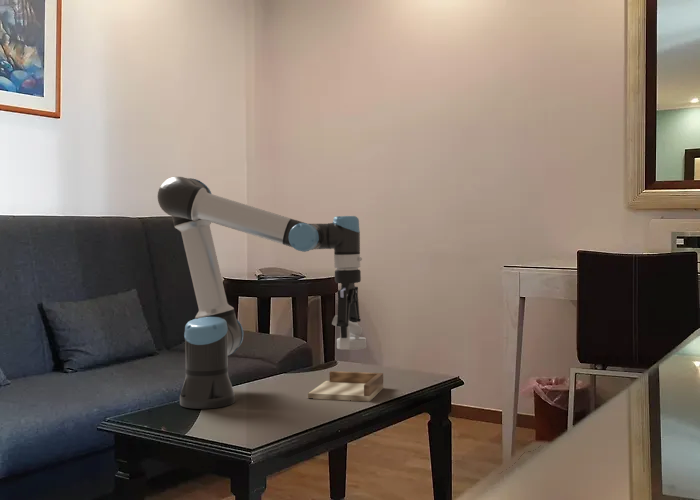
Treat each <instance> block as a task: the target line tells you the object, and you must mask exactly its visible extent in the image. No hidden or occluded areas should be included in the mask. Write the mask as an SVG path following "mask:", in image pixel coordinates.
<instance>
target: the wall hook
mask: <svg viewBox="0 0 700 500" xmlns="http://www.w3.org/2000/svg"><path fill="white" fill-rule="evenodd" d="M337 317H338V314H335V315H334V317H333V318H332V321H331V326H332V325H333V326H335V327H337ZM348 324H349V325H348V326H350V333H352V334H355V337H350V349H340V337H338V338H336V348H337V349H338V350H344V351H353V350H354V351H357V350H363V349H367V347H368V346H367V338H366V337H363V336H361V335H362V333H363V331H364V330H363V327H362V326H361V325H360V324H359V323H358V324H356V323H353V322H351V321H349V323H348ZM338 328H339V329H340V327H338Z"/></svg>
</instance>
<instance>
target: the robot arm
mask: <svg viewBox="0 0 700 500" xmlns="http://www.w3.org/2000/svg"><path fill="white" fill-rule="evenodd" d="M157 202H158V205H159V207H160V208H161V210H162V211H163V212H164V213H165V214H167V215H169V216H171V217H172V221H173V222H172V223H173V226H174V228H175V229H177V231H179V232H180V233H181V238H182V241H183V242H182V243H183V247H184V251H185V255H186V260H187V265H188V268H189V272H190V276H191V281H192V286H193V290H194V295H195V299H196V303H197V307H198V312H197V313H196V315H195V317H194V319H192V320H191V319H190V320H189V321H187V323H186V324H185V326H184V332H183V333H184V334H183V336H184V355H185V356H184V357H185V359H184V360H185V362H184V363H185V378H184V381H183V384H182V387H181V391H180V394H179V405H180V407H183V408H187V409H198V410H201V409H202V410H203V409H204V410H205V409H217V408H223V407H227V406H229V405H230V406H231V405H233V404H234V403H235V401H236V400H235V399H236V397H235V391H234V387H233V384H232V382H231V379H230V376H229V367H228V366H229V365H228V362H229V359H228V358H229V357H230V356H232V355H233V354H234V353H235V352H236V351H238V349H240V348H239V347H240V346H241V345H242V343H243V340H244V328H243V326H242V324H241V322H240V321H239V320H238V319H237V316H236V312H235V308H234V307H233V306H232V305H230V304H229V302H228V299H227V295H226V292H225V288H224V282H223V279H222V273H221V269H220V265H219V261H218V256H217V252H216V247H215V244H214V239H213V235H212V231H211V227H210V226H211V224H212V223H213V224H216V225H219V226H222V227H225V228H228V229H232V230H236V231H238V232H241V233H245V234H249V235H252V236H255V237H259V238H260V239H265V240H267V241H270V242H274V243H277V244H281V245H284V246H286V247H291V248H292V249H293V248H294V250H296V251H300V252H304V253H305V252H309V251H314V250H332V249H333V250H334V251H333V253H334V254H333V257H334V258H333V261H334V265H333V266H334V269H336V270H335V271H334V282H335V283H336V284H340V285H341V286H340V289H338V290H337V315H338V317H337V326H336V327H337V328H339V327H340V328H339V338H340V349H339V350H342V349H350V337H355V334H352V333H350V326H348V325H349V324H348V323H349V321H351V322H353V323H356V324H358V325H359V323H361V318H360V317H361V316H360V305H359V304H360V303H359V288H358V286H355V285H356V284H357V283H360V282H361V280H362V277H361V270H360V269H359V268H360V267H361V262H362V260H363V258H362V257H361V234H360V233H361V231H360V221H359V217H357V216H356V215H344V216H343V215H341V216H334V217H333V218H332V219H333V221H332V222H330V223H306V222H304V221H300V220H297V219H293V218H290V217H287V216H284V215H281V214H277V213H274V212H270V211H267V210H265V209H261V208H258V207H254V206H251V205H248V204H245V203H242V202H238V201H235V200H232V199H229V198H225V197H223V196H219V195H215V194H212V191H211V189H210V188H209V187H208V185H206V184H205V183H204V182H202V181H201V180H199V179H197V178H189V177H183V176H173V177H169V178H167V179H166V180H165V181H164V182H163V183H162V184H161V185H160V187H159V189H158V191H157ZM228 356H229V357H228Z"/></svg>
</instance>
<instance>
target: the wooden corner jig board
mask: <svg viewBox="0 0 700 500" xmlns="http://www.w3.org/2000/svg"><path fill="white" fill-rule="evenodd" d="M328 375H329V380H325V381H324V382H322V383H321V384H319V385H318V386H316V387H315V388H314V389H312V390H310V392H307V399H308V398H313V399H312V400H327V401H328V400H329V401H331V400H332V401H333V400H334V401H350V400H351V401H352V402H371V401H372V400H373V398H375V397H376V396H377V395H378V393H380V392H381V391H382V390H384V373H383V372H363V371H360V372H359V371H340V370H339V371H338V370H337V371H335V370H334V371H332V370H330V371H329V374H328ZM351 401H350V402H351Z"/></svg>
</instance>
